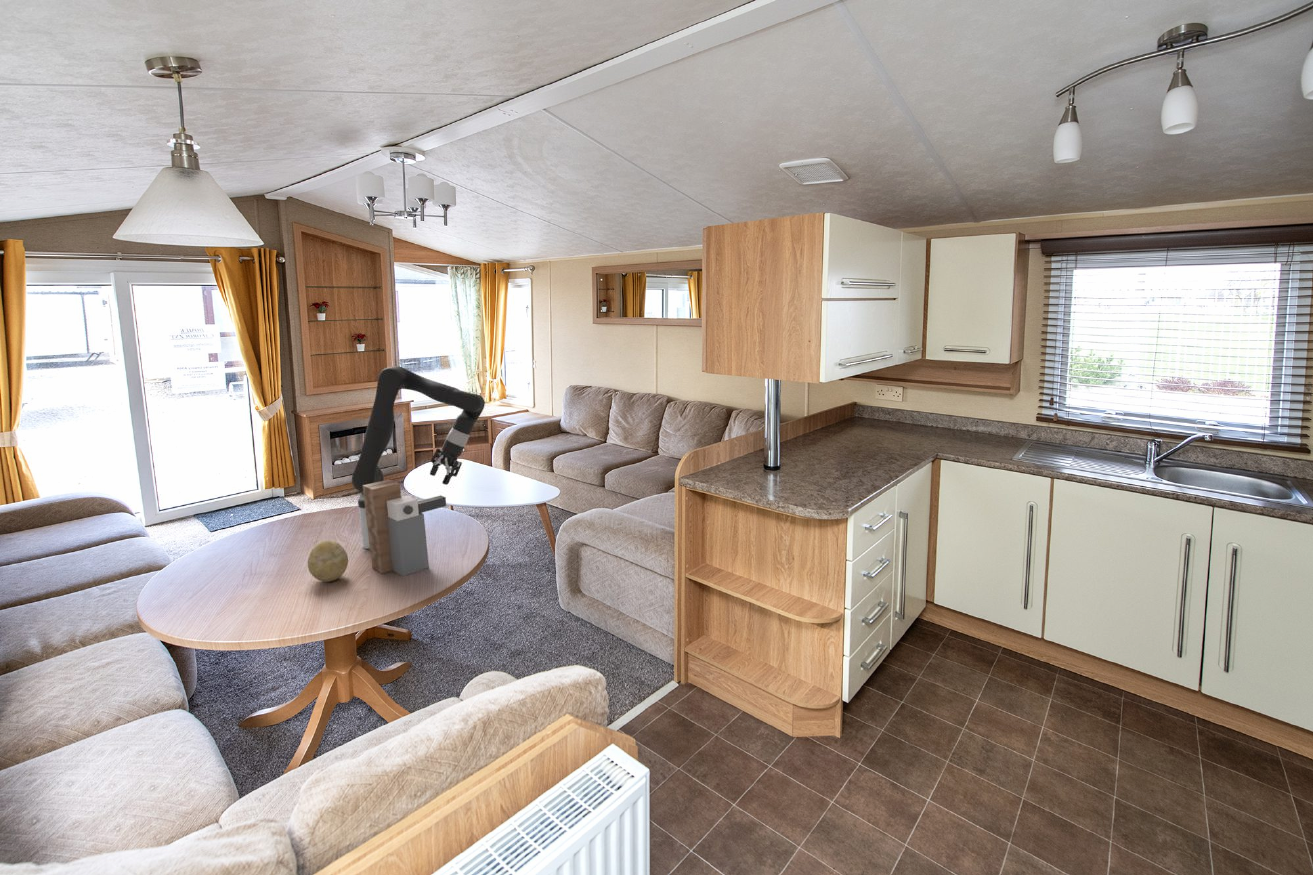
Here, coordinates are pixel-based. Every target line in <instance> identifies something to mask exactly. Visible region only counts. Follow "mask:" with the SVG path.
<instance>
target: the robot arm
mask: <svg viewBox="0 0 1313 875" xmlns="http://www.w3.org/2000/svg"><path fill="white" fill-rule="evenodd" d="M377 378H378V379H377V384H376V385H377V386H376V389H375V390H376V391H375V392H376V393H375V398H374V400H373V402H374V403H373V405H372V409H371V412H370V415H369V419H368V422H367V425H366V430H365V433H364V434H365V435H364V439H363V442H362V446H361V451H360V455H359V458H358V461H357V463H356V466H355V468H354V471H353V473H352V475H351V483H352V486H353V488H354V489H356V490H357V491H358V492H360V495H359V497H358V500H357V503H358V504H357V505H358V511H359V522H360V528H361V530H360V531H361V538H362V539H361V540H362V547H363V548H364V549H366V550H370V545H369V537H368V528H367V519H366V511H365V502H364V494H363V485H367V484H371V483H376V482H380V481H385V480H384V473H383V472H382V471H383V470H382V469H381V468H380V467H379V466H378V464H379V461H380V459H381V457H382V455H384V454H383V453H384V452H385V451H386V448H387V447H388V445H389V443H390V440H391V438H392V434H393V431H394V427H395V412H394V411H395V410H394V407H395V402H396V400H397V396H398V393H399V391H400V390H402V389H403V390H407V391H408V390H409V391H414V392H418V393H419V394H422V395H424V396H426V397H428V398H429V399H432V400H434V401H437V402H439V403H442V404H445V405H449V406H452V407H456V408H458V409H460V410H462V411H461V413H460V414H459V415H458V416H457V417H456V419H455V420H454V423H453V425H452V427H451V428H450V430H449V432H448V434H447V435H446V439H445V440H444V443H443V444H442V449H441V448H436V450H435V451H434V454H433V455H432V457H431V459H430V462H431V463H432V468H431V469H430V471H429V475H430V476H432V477H435V476H436V475H437V472H438V470H439V467H440V466H441V465H443V466H444V467H445V470H446V474H445V476H444V478H443V480H442V481H441V482H442V485H446V486H447V485H449V483H450V481H451V479H452V477H455V478H456V477H457V476H458V475H459V472H460V469H461V467H462V464H463V461H459V460H458V459H459V457H461V456H462V453H463V451H464V450H465V448H466V445H467V444H468V443H467V442H468V440H469V438H470V435H471V432H472V430H473V428H474V426H475V424H476V422H477V420H478V419H479V418H480V416H481V414H482V413H483V411H484V409H485V405H486V401H485V399H484V398H483V396H482V395H479V394H477V393H476V394H475V393H471V392H468V391H465V390H461V389H459V388H457V387H455V386H451V385H447V384H444V383H441V382H438V381H435V380H431V379H429V378H426V377H424V376H422V375H419V374H417V373H415V372H413V371H410V370H409V369H407V368H405V367H403V366H400V365H394V366H393V365H392V366H389V367H385V368H383V369H382V370H381V371H380V373H379V375H378V377H377Z"/></svg>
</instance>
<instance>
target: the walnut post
mask: <svg viewBox="0 0 1313 875" xmlns="http://www.w3.org/2000/svg"><path fill="white" fill-rule="evenodd" d="M400 484H401V483H400V482H398V481H394V480H392V479H389V478H388V479H386V480H384V481H380V482H376V483H371V484H367V485H363V494H364V502H365V511H366V519H367V528H368V537H369V545H370V549H369V554H370V562H371V568H372V569H373V570H375V571H377V572H378V573H381V575H382V574H386V573H388V572H392V571H393V568H392V559H391V550H390V541H389V532H388V523H387V516H388V509H387V501H388V500H392V499H396V498H400V497H402V494H401V485H400Z"/></svg>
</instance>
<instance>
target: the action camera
mask: <svg viewBox="0 0 1313 875" xmlns="http://www.w3.org/2000/svg"><path fill="white" fill-rule="evenodd" d="M444 507H447V498H446V496H443V495H436V496H432V497H429V498H426V499H422V500H418V499H417V498H415V497H413V496H410V495H405V496H401V497H400V498H396V499H392V500H388V501H387V509H388V517H390V518H392V519H394V520H396V521H400V520H403V519H407V518H410V517H414V516H418V515H419V513H423V514H424V513H425V512H429V511H433V510H436V509H441V508H444Z"/></svg>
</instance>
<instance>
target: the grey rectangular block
mask: <svg viewBox="0 0 1313 875" xmlns="http://www.w3.org/2000/svg"><path fill="white" fill-rule="evenodd" d="M424 514H425V513H424V512H423V513H419V515H418V516H414V517H410V518H407V519H403V520H400V521H396V520H394V519H392V518H390V517H388V516H387V523H388V532H389V541H390V550H391V559H392V568H393V570H392V571H393V572H395V573H397V574H399V575H400V576H402V577H405V576H408V575H411V574H413V573H414V574H415V573H416V572H420V571H422V570H426V569H428V568H430V565H429V554H428V545H427V544H428V543H427V533H426V523H425V515H424Z"/></svg>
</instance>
